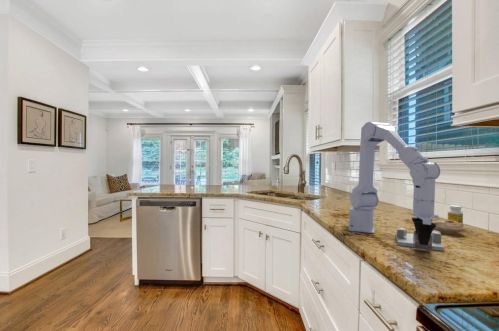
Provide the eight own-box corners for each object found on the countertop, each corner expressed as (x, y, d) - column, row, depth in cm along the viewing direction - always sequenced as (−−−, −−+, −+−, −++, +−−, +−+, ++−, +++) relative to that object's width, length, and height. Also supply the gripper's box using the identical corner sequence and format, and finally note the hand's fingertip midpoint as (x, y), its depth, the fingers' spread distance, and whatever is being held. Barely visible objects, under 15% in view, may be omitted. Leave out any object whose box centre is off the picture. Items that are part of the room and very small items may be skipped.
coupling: (414, 247, 87) (415, 233, 87) (412, 243, 91) (413, 230, 91) (432, 250, 85) (432, 235, 85) (429, 246, 89) (429, 232, 89)
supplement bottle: (450, 225, 124) (451, 204, 123) (464, 228, 119) (465, 206, 119) (445, 227, 121) (445, 205, 120) (459, 230, 116) (460, 207, 116)
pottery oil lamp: (423, 227, 117) (429, 213, 118) (455, 241, 112) (462, 226, 113) (427, 224, 110) (433, 209, 111) (462, 239, 104) (469, 222, 105)
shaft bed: (398, 245, 94) (398, 232, 94) (395, 235, 106) (395, 223, 106) (444, 251, 88) (444, 237, 88) (435, 239, 101) (435, 227, 101)
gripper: (444, 204, 79) (442, 251, 80) (434, 197, 92) (432, 238, 93) (415, 202, 82) (414, 247, 82) (410, 196, 95) (408, 235, 96)
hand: (422, 242), depth 88 cm, fingers closed on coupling, 5 cm apart
